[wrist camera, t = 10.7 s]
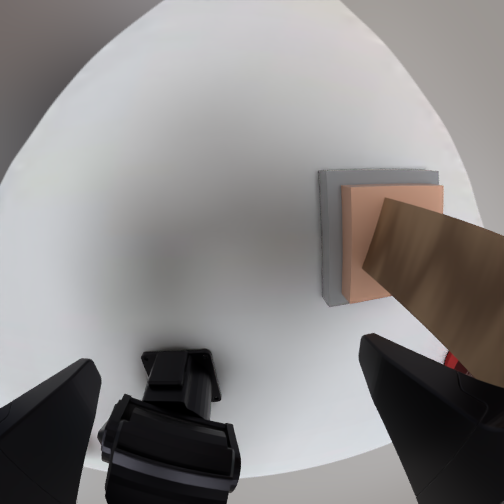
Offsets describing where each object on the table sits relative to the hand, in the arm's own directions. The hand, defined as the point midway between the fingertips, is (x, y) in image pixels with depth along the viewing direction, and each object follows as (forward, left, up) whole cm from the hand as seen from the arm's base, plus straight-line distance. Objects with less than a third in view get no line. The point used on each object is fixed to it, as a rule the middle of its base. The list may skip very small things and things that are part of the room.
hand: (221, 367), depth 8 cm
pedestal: (0, -12, -13) cm, 18 cm away
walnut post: (0, -12, -10) cm, 15 cm away
